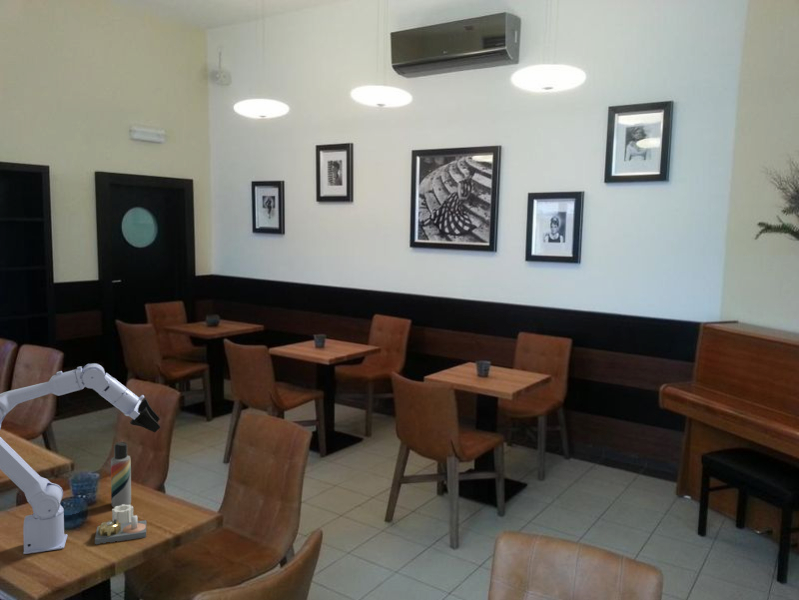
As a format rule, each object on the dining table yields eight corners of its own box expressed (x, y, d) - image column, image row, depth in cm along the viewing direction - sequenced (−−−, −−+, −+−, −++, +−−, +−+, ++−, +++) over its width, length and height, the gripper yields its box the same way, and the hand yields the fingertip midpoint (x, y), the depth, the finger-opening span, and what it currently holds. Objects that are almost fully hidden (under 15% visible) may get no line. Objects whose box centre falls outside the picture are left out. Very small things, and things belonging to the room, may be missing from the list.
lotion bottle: (112, 501, 193) (112, 440, 192) (132, 499, 195) (131, 439, 193) (110, 508, 188) (109, 446, 186) (129, 507, 190) (129, 445, 188)
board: (94, 544, 165) (94, 527, 165) (97, 531, 173) (97, 515, 172) (146, 537, 170) (145, 520, 170) (146, 525, 178) (146, 508, 177)
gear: (97, 537, 166) (97, 526, 166) (99, 528, 171) (99, 517, 171) (120, 534, 168) (120, 523, 168) (121, 525, 174) (121, 514, 173)
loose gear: (111, 526, 176) (111, 513, 176) (113, 518, 181) (112, 505, 181) (133, 523, 178) (132, 510, 178) (133, 515, 184) (133, 503, 183)
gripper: (129, 391, 163) (168, 422, 167) (130, 379, 176) (167, 408, 181) (109, 411, 161) (149, 441, 166) (112, 397, 175) (149, 426, 179)
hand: (157, 425), depth 173 cm, fingers open, 7 cm apart
